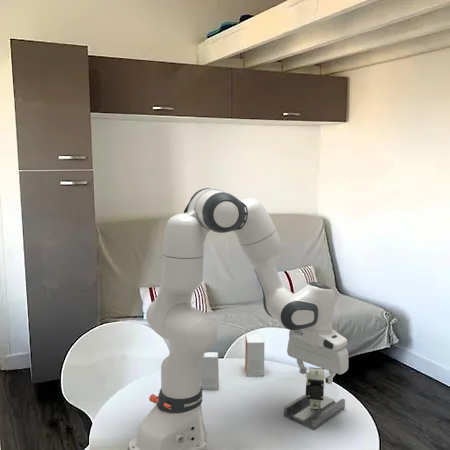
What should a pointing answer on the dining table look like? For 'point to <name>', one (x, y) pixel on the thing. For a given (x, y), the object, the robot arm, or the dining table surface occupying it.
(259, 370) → the small box
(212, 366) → the skincare box
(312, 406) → the pneumatic valve
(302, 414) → the rail plate
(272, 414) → the dining table surface
